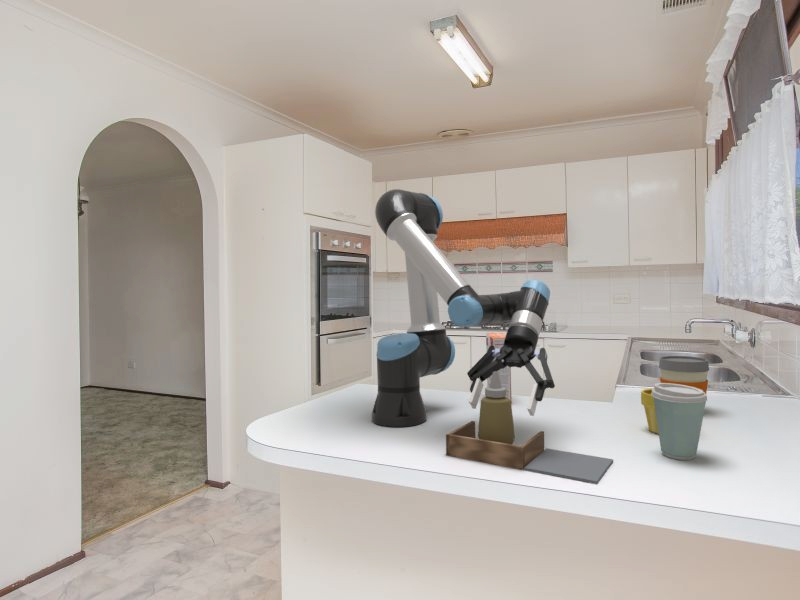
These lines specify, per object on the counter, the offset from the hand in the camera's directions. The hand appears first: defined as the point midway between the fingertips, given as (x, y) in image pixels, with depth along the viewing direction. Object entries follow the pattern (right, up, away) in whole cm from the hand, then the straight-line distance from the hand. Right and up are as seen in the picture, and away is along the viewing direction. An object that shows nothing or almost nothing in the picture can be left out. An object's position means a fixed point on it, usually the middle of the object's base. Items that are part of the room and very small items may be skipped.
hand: (500, 408), depth 114 cm
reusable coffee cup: (+59, -8, +33) cm, 68 cm away
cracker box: (+10, -8, +52) cm, 54 cm away
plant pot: (+44, -9, +15) cm, 47 cm away
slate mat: (+13, -10, -8) cm, 18 cm away
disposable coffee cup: (+38, -10, -3) cm, 39 cm away
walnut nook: (-1, -10, +1) cm, 10 cm away
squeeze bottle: (-1, -10, +1) cm, 10 cm away
